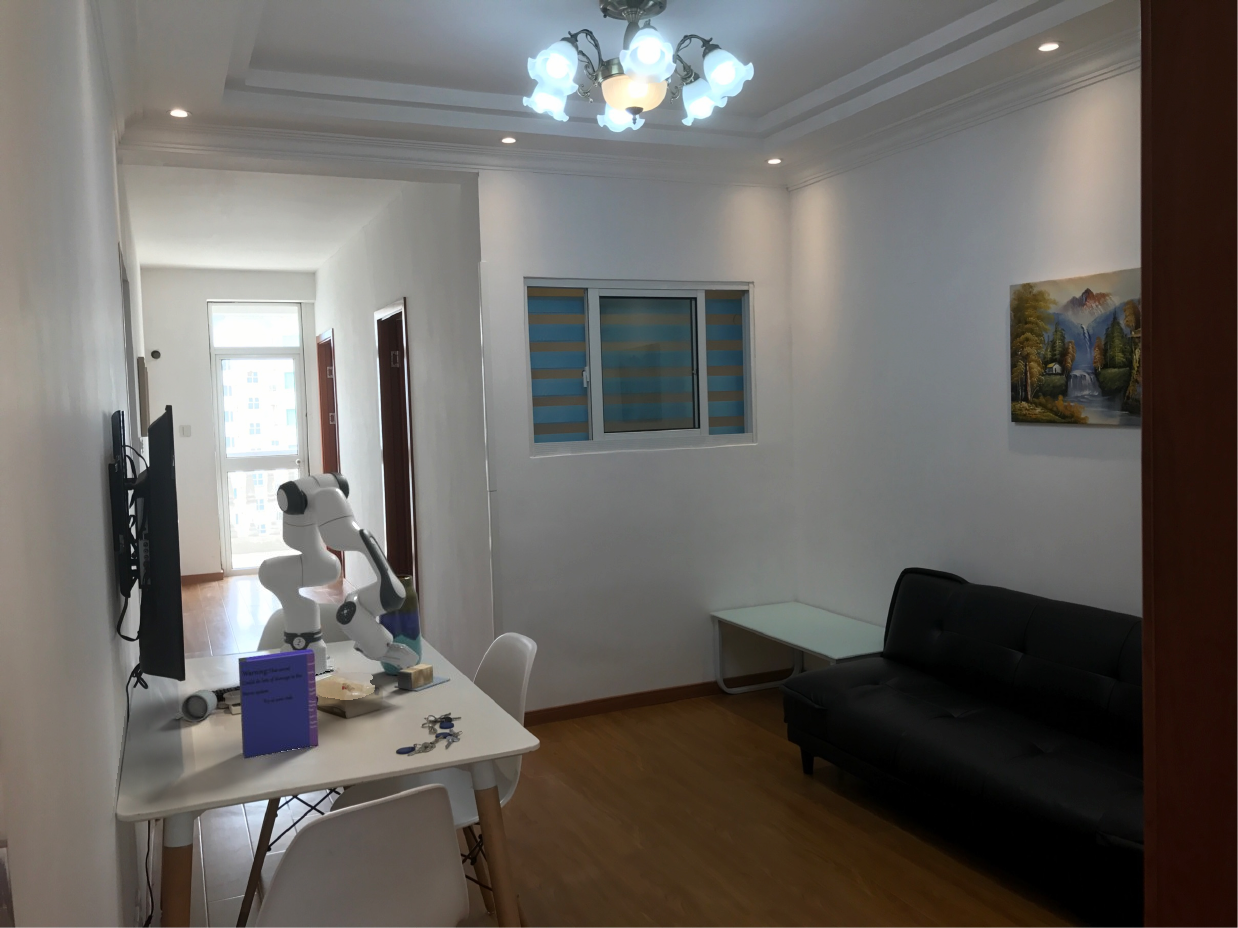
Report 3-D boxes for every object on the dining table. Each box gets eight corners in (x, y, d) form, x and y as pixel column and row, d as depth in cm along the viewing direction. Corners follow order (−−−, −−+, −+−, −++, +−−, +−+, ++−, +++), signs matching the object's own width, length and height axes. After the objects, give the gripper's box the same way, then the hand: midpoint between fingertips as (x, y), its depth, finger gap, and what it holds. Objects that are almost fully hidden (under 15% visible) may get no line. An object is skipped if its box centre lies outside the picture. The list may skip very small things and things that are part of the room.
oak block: (408, 673, 289) (432, 665, 297) (397, 671, 291) (421, 663, 300) (409, 689, 289) (433, 681, 297) (397, 687, 292) (422, 679, 300)
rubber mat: (417, 691, 288) (417, 689, 288) (394, 686, 294) (394, 685, 294) (450, 680, 300) (450, 678, 300) (427, 675, 305) (427, 674, 305)
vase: (419, 664, 320) (416, 572, 319) (426, 674, 307) (422, 578, 306) (377, 669, 315) (373, 575, 314) (382, 679, 302) (378, 581, 301)
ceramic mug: (219, 712, 272) (217, 685, 272) (209, 721, 264) (207, 693, 264) (181, 714, 272) (179, 688, 271) (169, 723, 263) (168, 696, 263)
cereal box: (315, 740, 246) (311, 648, 245) (318, 745, 241) (314, 651, 240) (242, 752, 238) (238, 657, 237) (244, 758, 233) (240, 661, 232)
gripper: (407, 636, 278) (432, 662, 286) (360, 629, 289) (386, 654, 298) (396, 655, 274) (422, 680, 283) (349, 647, 286) (375, 671, 294)
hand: (403, 667), depth 290 cm, fingers closed
